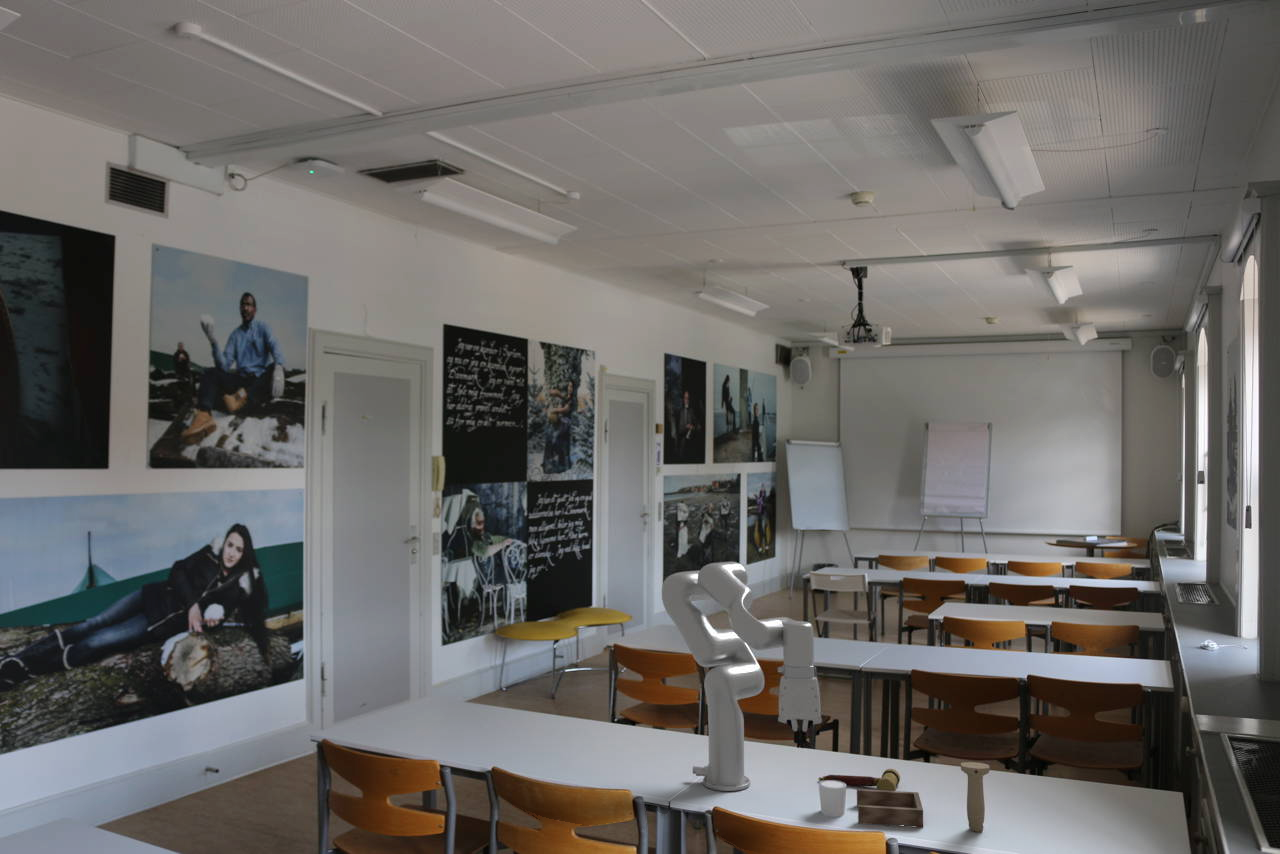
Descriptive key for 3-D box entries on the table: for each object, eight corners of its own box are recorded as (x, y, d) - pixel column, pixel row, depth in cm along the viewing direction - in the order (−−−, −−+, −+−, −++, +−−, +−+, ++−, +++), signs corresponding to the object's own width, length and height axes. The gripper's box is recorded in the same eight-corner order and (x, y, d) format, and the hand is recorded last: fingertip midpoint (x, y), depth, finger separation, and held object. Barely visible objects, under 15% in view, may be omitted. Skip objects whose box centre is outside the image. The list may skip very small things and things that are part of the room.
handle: (960, 825, 237) (959, 761, 238) (989, 827, 236) (988, 763, 236) (962, 832, 232) (961, 767, 233) (991, 834, 231) (990, 769, 231)
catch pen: (858, 823, 238) (858, 806, 239) (856, 804, 251) (856, 788, 251) (923, 827, 236) (923, 810, 236) (918, 808, 249) (918, 792, 249)
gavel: (813, 775, 266) (821, 765, 275) (815, 793, 265) (823, 782, 275) (893, 779, 258) (899, 768, 267) (895, 797, 257) (900, 786, 267)
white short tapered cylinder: (848, 809, 248) (848, 781, 248) (844, 818, 242) (844, 789, 242) (820, 806, 250) (820, 778, 251) (816, 815, 244) (816, 786, 244)
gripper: (767, 674, 246) (769, 749, 245) (829, 675, 244) (831, 751, 243) (769, 668, 254) (771, 741, 253) (829, 669, 251) (831, 743, 250)
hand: (800, 746), depth 248 cm, fingers closed
